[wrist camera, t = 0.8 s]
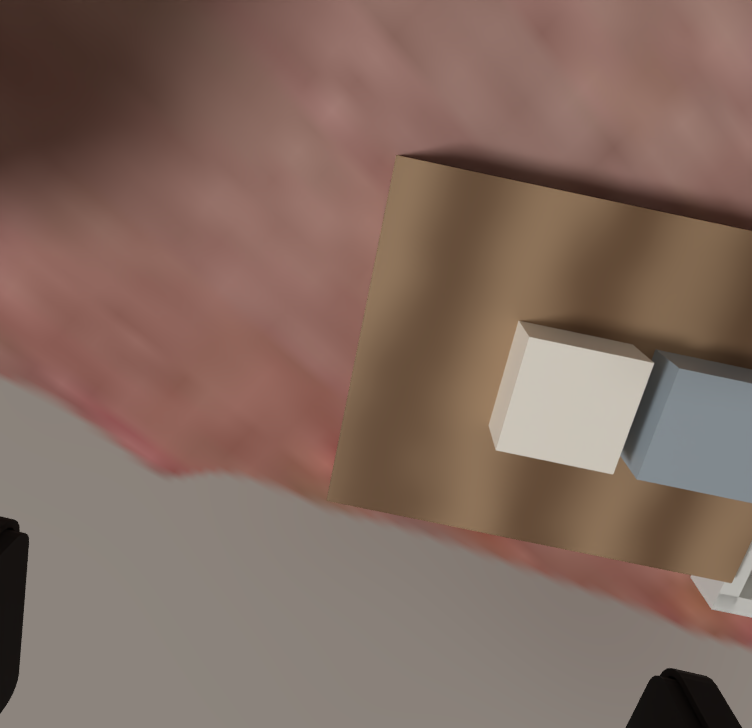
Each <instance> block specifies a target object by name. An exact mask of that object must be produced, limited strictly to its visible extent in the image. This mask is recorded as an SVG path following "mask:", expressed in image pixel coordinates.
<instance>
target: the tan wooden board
mask: <svg viewBox="0 0 752 728" xmlns="http://www.w3.org/2000/svg"><path fill="white" fill-rule="evenodd" d="M518 321H523V322H528V323H533V324H538V325H542V326H547V327H552V328H557V329H561V330H566V331H571V332H576V333H580V334H585V335H590V336H595V337H599V338H604V339H609V340H614V341H618V342H623V343H628V344H633V345H634V346H635V347H636V348H637V349H639V350H640V351H641V352H642V353H643V354H644V355H646V356H647V357H648V358H649V359H650V360H652V357H653V355H654V352H655V349H657V350H661V351H666V352H671V353H676V354H680V355H685V356H690V357H695V358H699V359H704V360H709V361H714V362H718V363H723V364H728V365H733V366H737V367H742V368H747V369H752V231H751V230H746V229H741V228H737V227H732V226H727V225H723V224H718V223H713V222H709V221H704V220H699V219H695V218H690V217H685V216H681V215H676V214H671V213H667V212H662V211H657V210H653V209H648V208H643V207H639V206H634V205H629V204H624V203H620V202H615V201H610V200H606V199H601V198H596V197H592V196H587V195H582V194H578V193H573V192H568V191H564V190H559V189H554V188H550V187H545V186H540V185H536V184H531V183H526V182H522V181H517V180H512V179H508V178H503V177H498V176H494V175H489V174H484V173H480V172H475V171H470V170H466V169H461V168H456V167H451V166H447V165H442V164H437V163H433V162H428V161H423V160H419V159H414V158H409V157H405V156H400V155H396V159H395V164H394V169H393V174H392V179H391V184H390V189H389V194H388V199H387V204H386V209H385V213H384V218H383V223H382V228H381V233H380V238H379V243H378V248H377V253H376V258H375V263H374V268H373V273H372V278H371V283H370V288H369V293H368V298H367V303H366V308H365V313H364V318H363V323H362V327H361V332H360V337H359V342H358V347H357V352H356V357H355V362H354V367H353V372H352V377H351V382H350V387H349V392H348V397H347V402H346V407H345V412H344V417H343V422H342V427H341V432H340V437H339V441H338V446H337V451H336V456H335V461H334V466H333V471H332V476H331V481H330V486H329V491H328V496H327V501H331V502H336V503H341V504H345V505H350V506H355V507H360V508H365V509H370V510H375V511H380V512H385V513H389V514H394V515H399V516H404V517H409V518H414V519H419V520H424V521H429V522H434V523H438V524H443V525H448V526H453V527H458V528H463V529H468V530H473V531H478V532H483V533H487V534H492V535H497V536H502V537H507V538H512V539H517V540H522V541H527V542H531V543H536V544H541V545H546V546H551V547H556V548H561V549H566V550H571V551H576V552H580V553H585V554H590V555H595V556H600V557H605V558H610V559H615V560H620V561H625V562H629V563H634V564H639V565H644V566H649V567H654V568H659V569H664V570H669V571H673V572H678V573H683V574H688V575H693V576H698V577H703V578H708V579H713V580H718V581H722V582H727V583H732V582H733V580H734V577H735V575H736V573H737V571H738V569H739V567H740V565H741V563H742V560H743V558H744V556H745V554H746V552H747V550H748V548H749V546H750V543H751V541H752V503H749V502H744V501H739V500H734V499H729V498H724V497H719V496H715V495H710V494H705V493H700V492H695V491H690V490H686V489H681V488H676V487H671V486H666V485H661V484H657V483H652V482H647V481H642V480H637V479H636V478H635V476H634V475H633V473H632V472H631V471H630V469H629V468H628V466H627V465H626V463H625V462H624V461H623V459H622V458H621V456H620V458H619V460H618V463H617V466H616V468H615V471H614V474H608V473H603V472H598V471H594V470H589V469H584V468H579V467H574V466H569V465H565V464H560V463H555V462H550V461H545V460H540V459H535V458H531V457H526V456H521V455H516V454H511V453H506V452H502V451H497V450H496V449H495V446H494V442H493V439H492V436H491V432H490V429H489V422H490V419H491V415H492V412H493V408H494V405H495V401H496V398H497V394H498V391H499V387H500V384H501V380H502V377H503V373H504V370H505V366H506V363H507V359H508V356H509V352H510V349H511V345H512V342H513V338H514V335H515V331H516V328H517V324H518Z"/></svg>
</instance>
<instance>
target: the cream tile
mask: <svg viewBox="0 0 752 728" xmlns="http://www.w3.org/2000/svg"><path fill="white" fill-rule="evenodd" d="M653 365H654V362H653V361H651V360H650V359H649V358H648V357H647V356H646V355H644V354H643V353H642V352H641V351H640V350H639V349H637V348H636V347H635V346H634V345H633V344H628V343H623V342H618V341H614V340H609V339H604V338H599V337H595V336H590V335H585V334H580V333H576V332H571V331H566V330H561V329H557V328H552V327H547V326H542V325H538V324H533V323H528V322H523V321H518V324H517V328H516V331H515V335H514V338H513V342H512V345H511V349H510V352H509V356H508V359H507V363H506V366H505V370H504V373H503V377H502V380H501V384H500V387H499V391H498V394H497V398H496V401H495V405H494V408H493V412H492V415H491V419H490V422H489V429H490V432H491V436H492V439H493V442H494V446H495V449H496V450H497V451H502V452H506V453H511V454H516V455H521V456H526V457H531V458H535V459H540V460H545V461H550V462H555V463H560V464H565V465H569V466H574V467H579V468H584V469H589V470H594V471H598V472H603V473H608V474H614V471H615V468H616V466H617V463H618V460H619V458H620V455H621V452H622V449H623V447H624V444H625V441H626V439H627V436H628V433H629V430H630V428H631V425H632V422H633V420H634V417H635V414H636V412H637V409H638V406H639V403H640V401H641V398H642V395H643V393H644V390H645V387H646V384H647V382H648V379H649V376H650V374H651V371H652V368H653Z"/></svg>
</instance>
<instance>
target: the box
mask: <svg viewBox="0 0 752 728" xmlns="http://www.w3.org/2000/svg"><path fill="white" fill-rule="evenodd" d="M691 579H692V580H693V582H694V583H695V585H696V586H697V588H698V589H699V591H700V592H701V594H702V595H703V597H704V599H705V600H706V602H707V603H708V605H709V606H710V608H711V609H713V610H718V611H723V612H728V613H732V614H737V615H742V616H747V617H752V541H751V543H750V546H749V548H748V550H747V552H746V554H745V556H744V558H743V560H742V563H741V565H740V567H739V569H738V571H737V573H736V575H735V577H734V580H733V582H732V583H727V582H722V581H718V580H713V579H708V578H703V577H698V576H693V575H691Z"/></svg>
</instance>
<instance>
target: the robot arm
mask: <svg viewBox="0 0 752 728" xmlns="http://www.w3.org/2000/svg"><path fill="white" fill-rule="evenodd" d="M28 548H29V537H28V535H27V534H26V533H22V532H19V524H18V522H17V521H16V520H13V519H9V518H4V517H0V713H1V712H2V710H3V709H4V708H5V706H6V705H7V703H8V701H9V700H10V698H11V696H12V694H13V691H14V689H15V687H16V684H17V681H18V676H19V665H20V652H21V638H22V626H23V613H24V600H25V585H26V574H27V561H28ZM626 728H742V727H741V725H740V724H739V722H738V720H737V719H736V717H735V715H734V714H733V712H732V710H731V709H730V707H729V705H728V704H727V702H726V700H725V699H724V697H723V695H722V694H721V692H720V691H719V689H718V687H717V685H716V684H715V683H714V682H713V680H712V679H710V678H709V677H707V676H704V675H699V674H695V673H690V672H686V671H682V670H677V669H672V668H668V669H666V670H664V671H663V672H662V673H661V675H660V676H654V677H652V678H651V679H650V681H649V682H648V684H647V686H646V688H645V690H644V692H643V694H642V696H641V698H640V700H639V702H638V704H637V706H636V708H635V710H634V712H633V714H632V716H631V718H630V720H629V722H628V724H627V726H626Z"/></svg>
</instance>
